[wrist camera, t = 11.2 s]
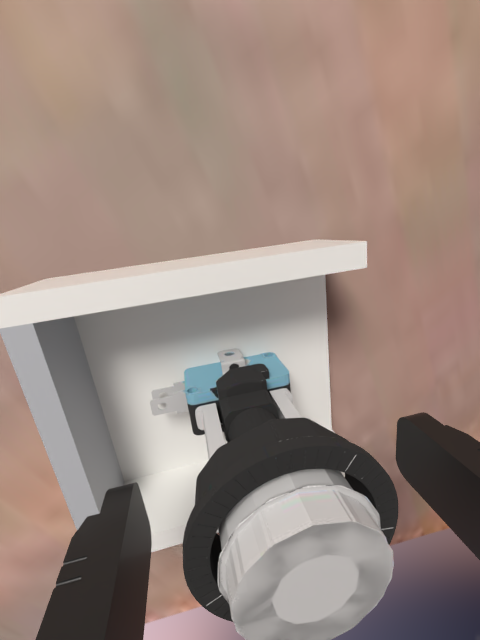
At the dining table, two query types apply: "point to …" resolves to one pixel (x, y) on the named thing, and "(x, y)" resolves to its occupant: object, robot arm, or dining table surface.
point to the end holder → (162, 362)
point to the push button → (279, 507)
